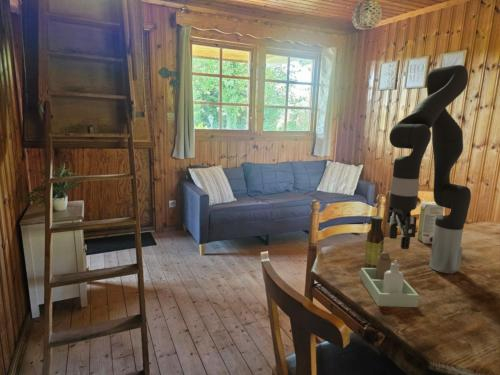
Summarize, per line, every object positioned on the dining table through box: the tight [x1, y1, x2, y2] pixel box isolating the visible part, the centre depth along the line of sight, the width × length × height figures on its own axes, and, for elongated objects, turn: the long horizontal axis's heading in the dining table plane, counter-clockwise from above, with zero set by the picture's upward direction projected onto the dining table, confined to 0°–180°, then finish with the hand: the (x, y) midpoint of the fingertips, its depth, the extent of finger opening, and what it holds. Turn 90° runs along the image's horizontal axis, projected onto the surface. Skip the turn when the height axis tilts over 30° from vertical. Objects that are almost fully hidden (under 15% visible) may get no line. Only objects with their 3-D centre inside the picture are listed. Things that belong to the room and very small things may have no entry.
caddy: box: [359, 251, 420, 308], centre depth 107 cm, size 12×18×12 cm, turn 179°
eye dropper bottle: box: [382, 259, 405, 293], centre depth 102 cm, size 4×6×12 cm
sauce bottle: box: [364, 215, 385, 268], centre depth 124 cm, size 7×6×20 cm
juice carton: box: [416, 200, 445, 244], centre depth 152 cm, size 8×9×19 cm
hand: (398, 243), depth 100 cm, fingers open, 8 cm apart
